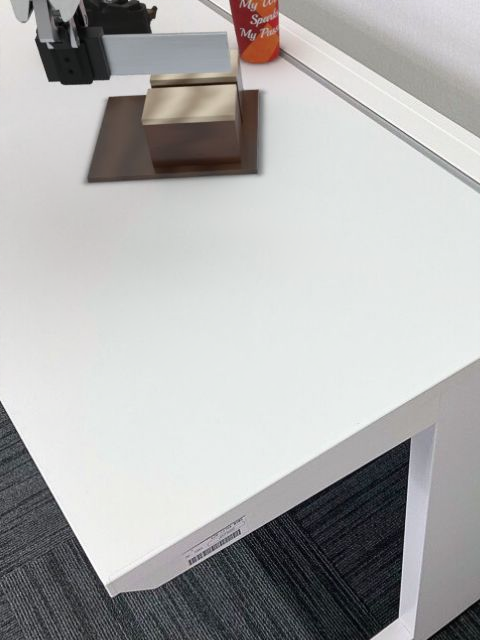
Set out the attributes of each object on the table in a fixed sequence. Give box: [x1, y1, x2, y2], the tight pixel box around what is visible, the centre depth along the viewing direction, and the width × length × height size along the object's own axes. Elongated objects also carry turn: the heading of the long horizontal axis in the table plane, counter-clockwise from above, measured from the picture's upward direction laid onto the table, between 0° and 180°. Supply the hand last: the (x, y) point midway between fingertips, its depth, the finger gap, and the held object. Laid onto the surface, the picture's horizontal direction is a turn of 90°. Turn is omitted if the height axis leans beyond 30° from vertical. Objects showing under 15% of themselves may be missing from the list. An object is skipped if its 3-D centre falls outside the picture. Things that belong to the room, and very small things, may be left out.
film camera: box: [35, 0, 159, 35], centre depth 114 cm, size 18×12×10 cm
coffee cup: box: [228, 0, 281, 64], centre depth 110 cm, size 8×8×15 cm
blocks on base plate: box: [86, 48, 260, 183], centre depth 99 cm, size 21×19×8 cm
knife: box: [34, 27, 232, 83], centre depth 75 cm, size 18×2×4 cm, turn 93°
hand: (80, 74), depth 76 cm, fingers closed on knife, 2 cm apart
